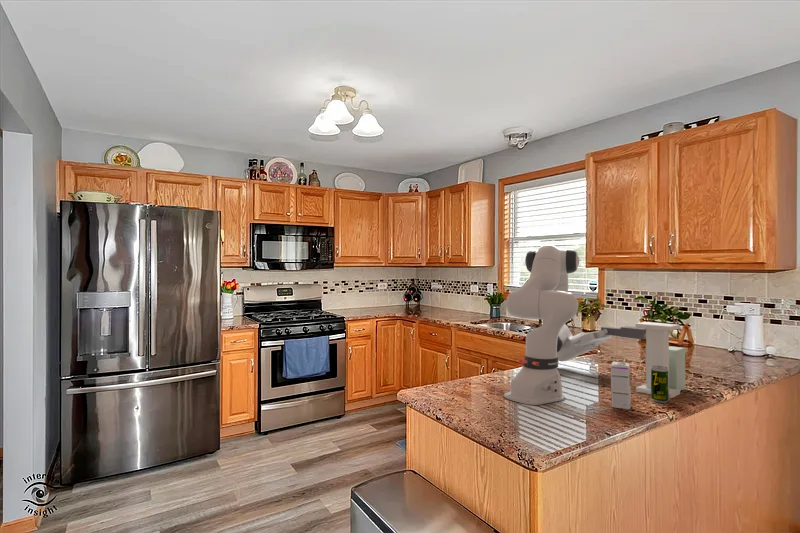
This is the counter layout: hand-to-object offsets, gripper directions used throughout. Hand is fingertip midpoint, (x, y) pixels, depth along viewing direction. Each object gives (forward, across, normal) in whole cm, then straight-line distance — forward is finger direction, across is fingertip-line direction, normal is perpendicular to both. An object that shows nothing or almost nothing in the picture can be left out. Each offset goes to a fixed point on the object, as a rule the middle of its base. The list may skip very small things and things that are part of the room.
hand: (610, 330), depth 189 cm
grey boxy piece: (+5, 0, +5) cm, 7 cm away
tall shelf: (+9, -10, +29) cm, 32 cm away
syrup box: (+8, -38, +29) cm, 48 cm away
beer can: (+13, -21, +32) cm, 40 cm away
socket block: (+9, 0, +29) cm, 30 cm away
